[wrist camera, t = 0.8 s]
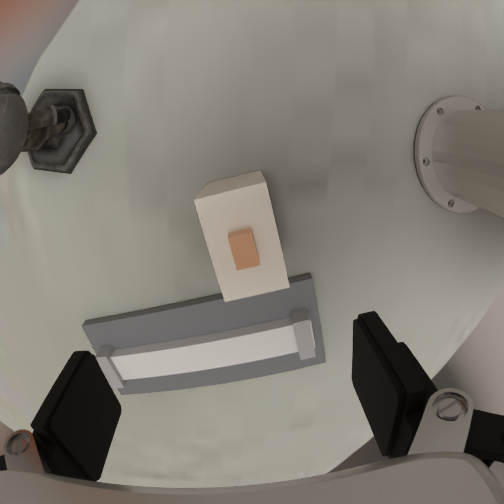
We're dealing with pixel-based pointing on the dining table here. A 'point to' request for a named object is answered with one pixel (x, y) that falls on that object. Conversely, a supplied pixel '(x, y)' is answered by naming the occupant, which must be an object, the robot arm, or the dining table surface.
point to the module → (242, 236)
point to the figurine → (45, 128)
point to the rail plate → (209, 323)
